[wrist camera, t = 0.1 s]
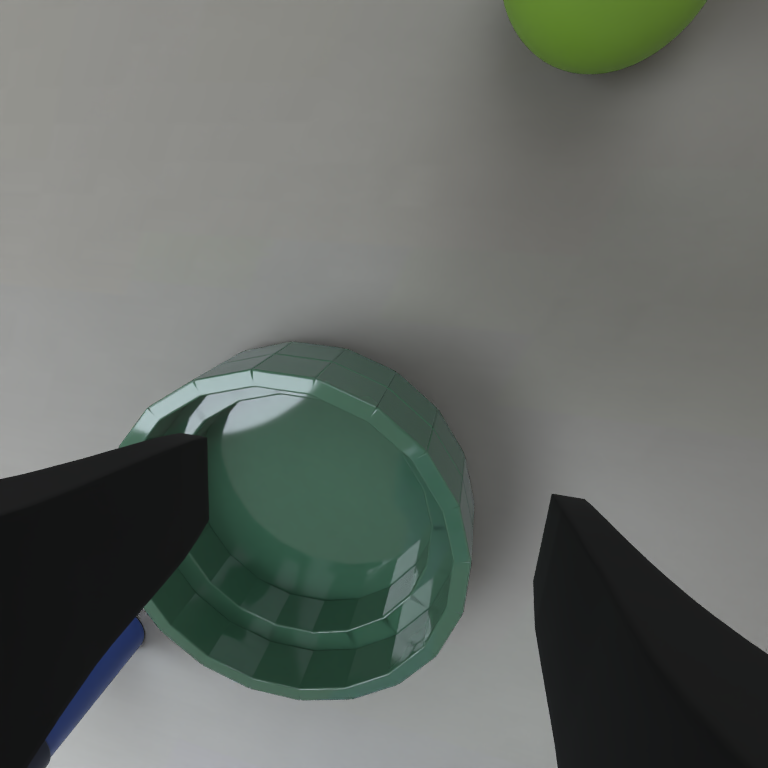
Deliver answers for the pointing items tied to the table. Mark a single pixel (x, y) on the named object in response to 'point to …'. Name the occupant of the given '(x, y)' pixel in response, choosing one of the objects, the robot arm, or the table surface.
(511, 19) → the snail figurine
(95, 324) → the table surface
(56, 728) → the marker
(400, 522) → the bowl
